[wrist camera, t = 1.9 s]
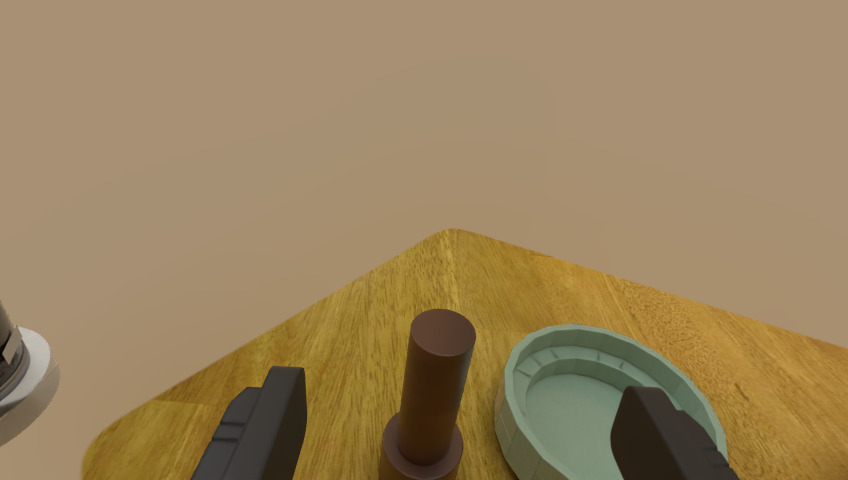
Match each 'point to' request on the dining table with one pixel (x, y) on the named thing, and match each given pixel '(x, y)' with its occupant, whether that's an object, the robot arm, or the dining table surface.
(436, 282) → the dining table surface
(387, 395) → the dining table surface
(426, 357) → the pestle
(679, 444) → the robot arm
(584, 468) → the bowl
